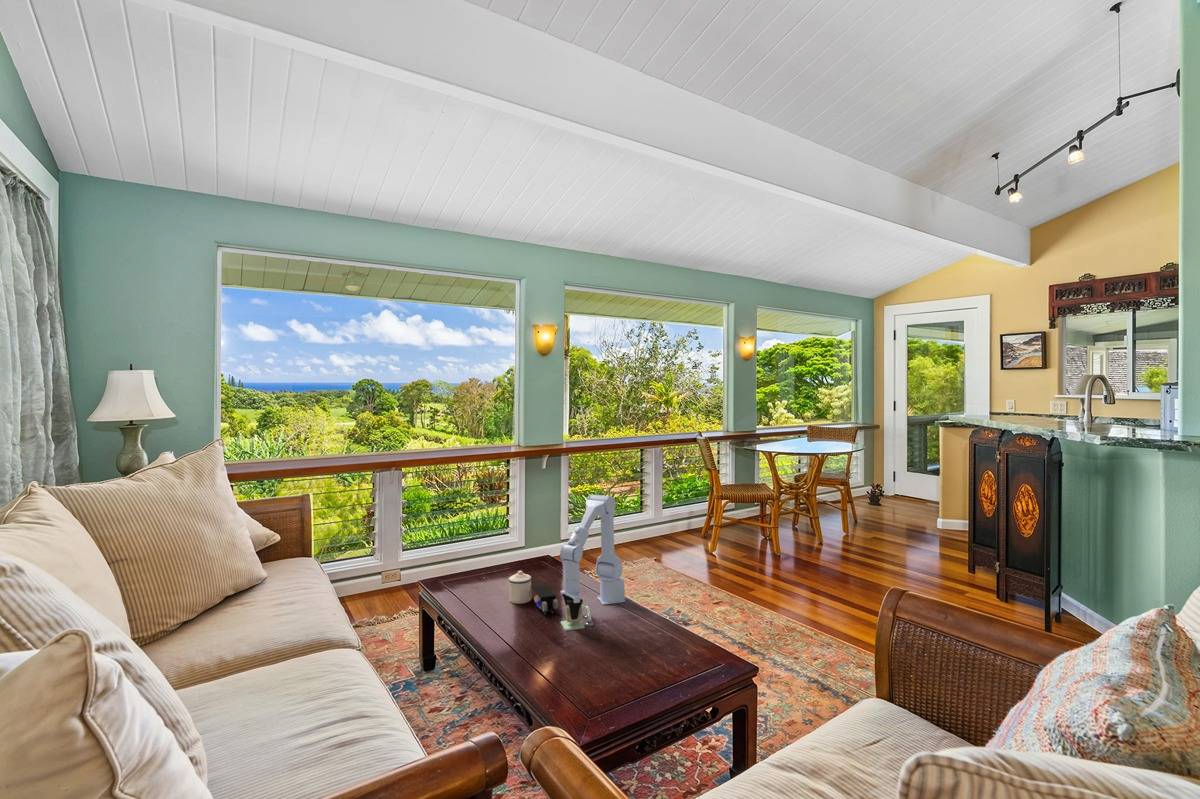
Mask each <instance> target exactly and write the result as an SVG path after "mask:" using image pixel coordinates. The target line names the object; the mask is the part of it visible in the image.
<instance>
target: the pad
mask: <svg viewBox="0 0 1200 799" xmlns="http://www.w3.org/2000/svg"><path fill="white" fill-rule="evenodd" d="M560 624H561V626H562V628H563V630H564V631H565V632H567V631H575V630H580V629H581V630H582V629H585V624H584V623H583V622H582V620H581V621H580V622H577V623H570V622H567V620H561V621H560Z"/></svg>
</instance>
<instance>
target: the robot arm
mask: <svg viewBox="0 0 1200 799" xmlns="http://www.w3.org/2000/svg"><path fill="white" fill-rule="evenodd" d="M585 508H586V509H585V511H584V514H583V516H582V519H581V522H580V524H579V526H576V527H575V528H574V530H573V532H572V533H571V535H570V537H569V539H568V540H567V542H566V544H563V545H562V546H561V549H560V553H559V557H560V558H559V559H560V560H561V564H562V566H563V590H560V594H561V595H562V599H563V600H564V604H565V606H566V605H567V604H568V606H569V609H570V616H571V619H572V620H574V619H577V618H578V614H579V609H580V607H581V605H583V602H584V601H583V599H582V598H580V595H581V588H580V587H581V586H580V585H581V584H580V583H581V580H580V579H581V578H580V575H581V574H580V573H581V572H580V561H581V559H582V558H583V554H584V552H583V551H584V546H585V544H586V542H587V540H588V537H589V536H590V533H589V530H590V527H591V526H592V524H593V523H594V522H595V519H596V518H597V516H599V517H600V541H601V542H600V543H601V544H600V546H601V554H600V555H599V556H598V557H597V558H596V564H595V573H596V575H597V576H598V579H600V580H599V581H600V582H599V584H600V588H599V589H600V590H599V591H600V596H599V595H598V596H597V600H598V601H599V602H600V603H601V604H602V605H611V604H612V605H613V604H619V603H620V604H621V603H626V595H625V594H626V593H625V592H626V590H625V580H624V578H623V577H622V575H623V570H624V569H623V565H622V558H620V557H619V556H618V555H617V554H616V553H615V529H614V526H615V524H614V520H615V519H614V515H615V514H616V499H615V498H614V497H613V496H612V495H603V494H602V495H601V494H593V493H590V494H588V496H587V498H586V501H585Z"/></svg>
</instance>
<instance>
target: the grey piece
mask: <svg viewBox="0 0 1200 799" xmlns="http://www.w3.org/2000/svg"><path fill="white" fill-rule="evenodd" d="M581 605H582V610H586V611H585V612H586V613H585V614H584V615H583V618H584V619H586V621H585V622H584V626H586V627H592V626H594V625H595V622H594V621H592V618H593V614H592V613H591V606H590V605H584V604H581Z"/></svg>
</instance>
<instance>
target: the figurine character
mask: <svg viewBox="0 0 1200 799" xmlns="http://www.w3.org/2000/svg"><path fill="white" fill-rule="evenodd" d="M531 590H533V592H535V595H534V597H533V600H534V604H536V607H538V608H539V609H540V611H542V612H543V614H544V615H545V616H546V615H548V614H547V612H550V613H551V614H554V613H555V611H553V609H554V610H557V609H559V601H558V599H556V597H557V595H556V594H555V593H554V592H553V591H552V589H551V588H550V587H549V585H547V584H543V585H542V584H541V585H536V586H535V585H534V586H531Z"/></svg>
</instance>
